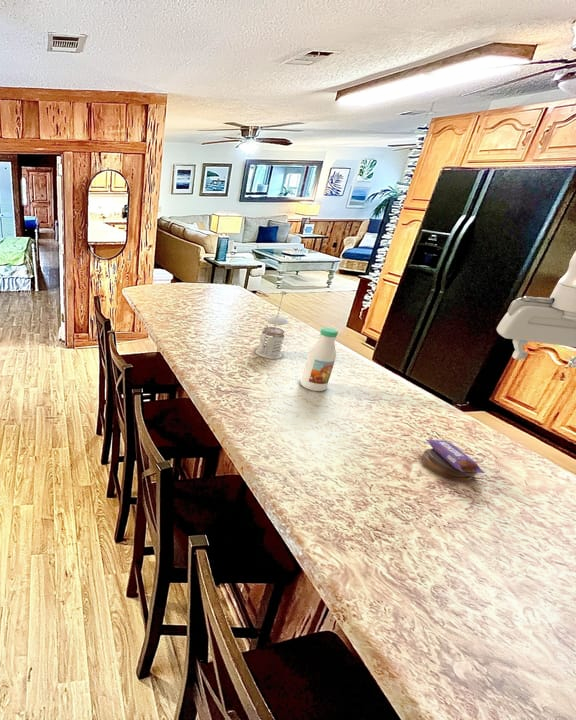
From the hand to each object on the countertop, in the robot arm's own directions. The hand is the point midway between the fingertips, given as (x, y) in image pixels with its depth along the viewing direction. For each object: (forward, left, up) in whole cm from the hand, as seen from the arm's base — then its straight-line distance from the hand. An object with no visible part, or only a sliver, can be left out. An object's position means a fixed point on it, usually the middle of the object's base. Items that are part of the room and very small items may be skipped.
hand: (545, 362), depth 84 cm
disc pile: (+11, +8, -27) cm, 30 cm away
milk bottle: (+37, -24, -27) cm, 52 cm away
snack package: (+11, +8, -24) cm, 28 cm away
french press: (+51, -45, -27) cm, 73 cm away
